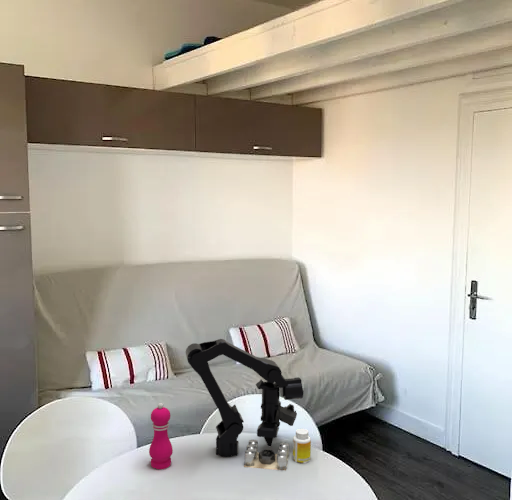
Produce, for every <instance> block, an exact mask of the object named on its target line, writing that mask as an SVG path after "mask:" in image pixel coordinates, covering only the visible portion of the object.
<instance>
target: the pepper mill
mask: <svg viewBox="0 0 512 500" xmlns="http://www.w3.org/2000/svg"><path fill="white" fill-rule="evenodd" d="M150 419H151V420H150V421H151V422H152V430H153V438H152V440H151V443H150V446H149V450H148V453H149V454H148V455H149V457H150V458H151V459H150V466H151V468H153V469H155V468H156V469H155V470H164V469H165V470H166V469H168V468H169V467H170V466H171V465H172V457H171V456H172V455H173V453H174V452H173V451H174V450H173V445H172V443H171V440H170V438H169V434H168V433H169V432H168V429H169V427H170V422H169V421H170V419H171V411H170V409H168V407H165V406H164V404H163V403H162V402H159V403H158V404H157V407H155V408H153V410H152V411H151V412H150Z"/></svg>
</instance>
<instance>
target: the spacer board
mask: <svg viewBox="0 0 512 500" xmlns="http://www.w3.org/2000/svg"><path fill="white" fill-rule="evenodd" d="M259 452H260V451H258V454H257V455H256V460H255V464H254V466H246V465H245V464H244V465H243V467H244V468H251V469H252V468H253V469H261V470H262V469H264V470H273V471H274V470H276V471H280V470H279V469H277V454H278V453H275V462H273V463H272V464H270V465H269V464H262V463H261V462H260V461H259ZM284 471H285V472H286V471H287V468H286V469H285V470H284Z"/></svg>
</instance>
